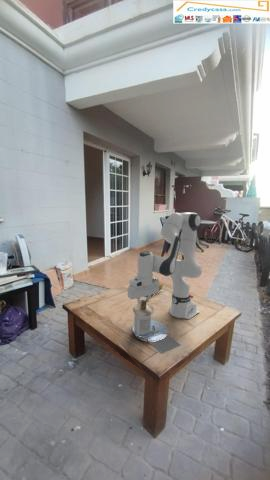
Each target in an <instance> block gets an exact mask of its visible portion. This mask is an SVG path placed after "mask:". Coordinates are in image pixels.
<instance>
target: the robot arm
mask: <svg viewBox="0 0 270 480" xmlns="http://www.w3.org/2000/svg"><path fill="white" fill-rule="evenodd" d="M201 222H202V218H201V216H200V214H199V213H196V212H172V213H170V214H169V216H168V217H167V219H165V221H164V223H163V225H162V227H161V230H160V233H161V234H160V235H161V237H162V238H163V240H164V241H166V242H167V243H168V244H170V248H169V251H168V254H167V256H166V257H163V256H159V255H156V254H153V252H152V251H149V250H143V251H141V252H140V253H139V254H138V258H137V272H136V276H135V277H133V278H131V279H129V280H128V283H129V285H128V288H127V297H128V298H129V299H131V300H135V299H136V300H137V304H142V301H141V298H143V297H144V298H145V300H146V301H147V302H146V303H150V299H151V298H152V297H151V295H152V294H156V293H158V292H159V284H160V283H159V281H160V279H159V278H158V277H153V273H156V274H160V275H163V276H165V277H169V276H170V277H171V280H172V284H173V285H172V286H173V287H172V295H171V302H170V303H171V304H170V307H169V314H170V316H172V317H174V318H177V319H185V320H190V319H192V318H194V317H195V316H197V315H198V314H200V313H199V312H200V310H199V309H198V308H197V304H196V302H194V301H193V300H192V299H193V298H194V295H193V294H190V283H189V282H188V281H187V280H185V279H184V277H185V278H188V279H199V277H201V276H202V273H203V268H202V266H201V264H200V263H199V261H197V258H196V255H195V253H196V252H195V251H196V250H195V249H196V244H197V235H198V233H197V230H198V228H199V227H200V225H201ZM180 232H181V234H180ZM178 254H180V255H182V256H183V258H184V259H178ZM159 293H160V292H159ZM159 293H158V294H159ZM156 295H157V294H156ZM197 313H198V314H197ZM196 314H197V315H196Z"/></svg>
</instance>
